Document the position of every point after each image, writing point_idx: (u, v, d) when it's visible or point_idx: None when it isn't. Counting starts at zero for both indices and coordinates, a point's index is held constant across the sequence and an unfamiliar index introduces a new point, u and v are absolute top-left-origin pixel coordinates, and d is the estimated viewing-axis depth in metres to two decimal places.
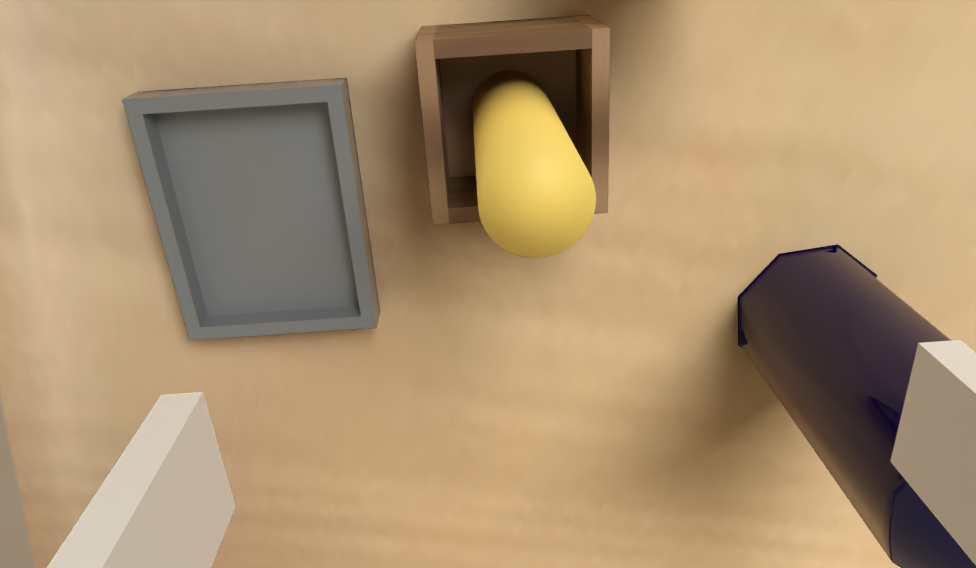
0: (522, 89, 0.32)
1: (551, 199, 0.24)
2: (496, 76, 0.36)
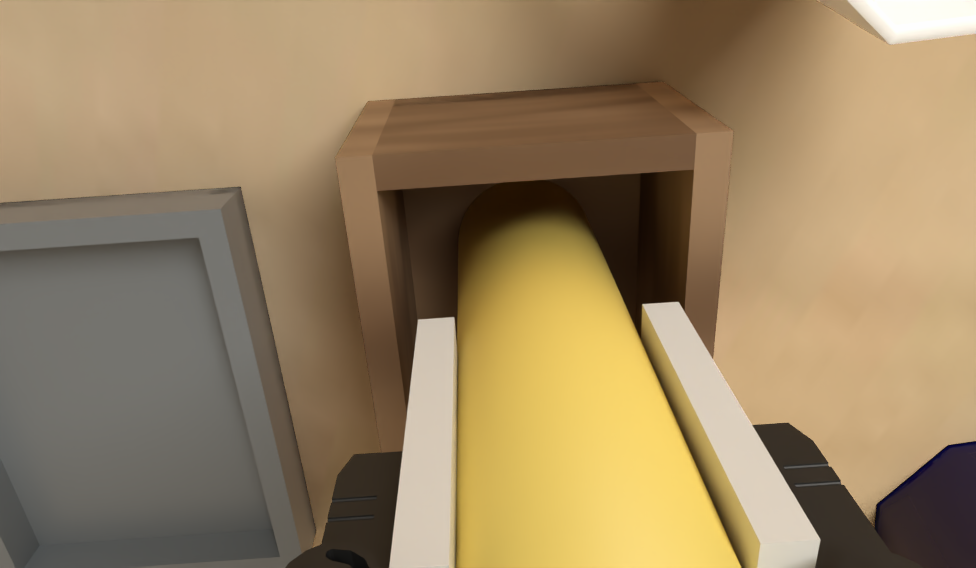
0: (553, 249, 0.16)
1: None
2: (500, 194, 0.20)
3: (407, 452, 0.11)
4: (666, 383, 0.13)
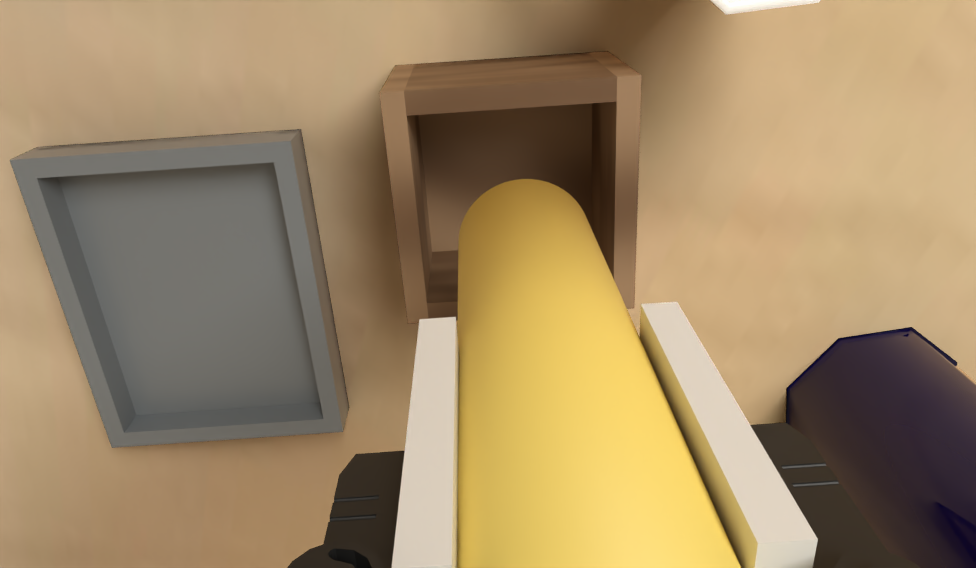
0: (553, 250, 0.16)
1: None
2: (500, 195, 0.20)
3: (409, 452, 0.11)
4: (664, 383, 0.13)
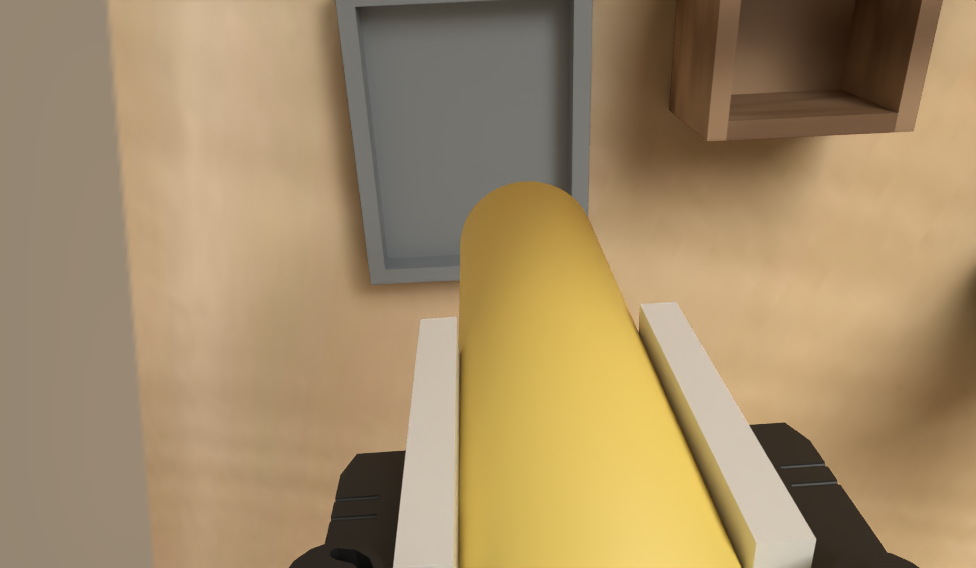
0: (556, 254, 0.16)
1: None
2: (503, 197, 0.20)
3: (410, 451, 0.11)
4: (663, 383, 0.13)
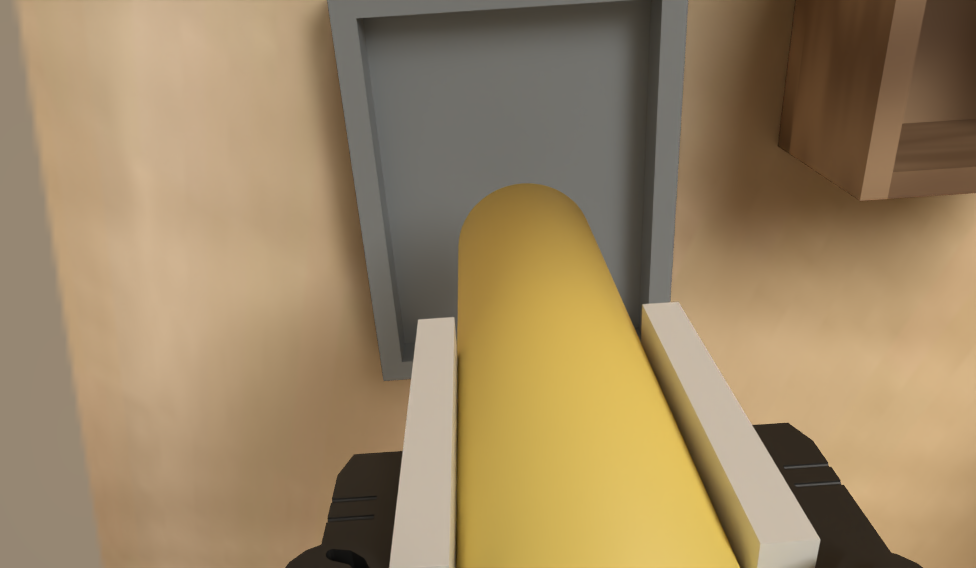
0: (555, 257, 0.16)
1: None
2: (501, 200, 0.20)
3: (407, 452, 0.11)
4: (666, 383, 0.13)
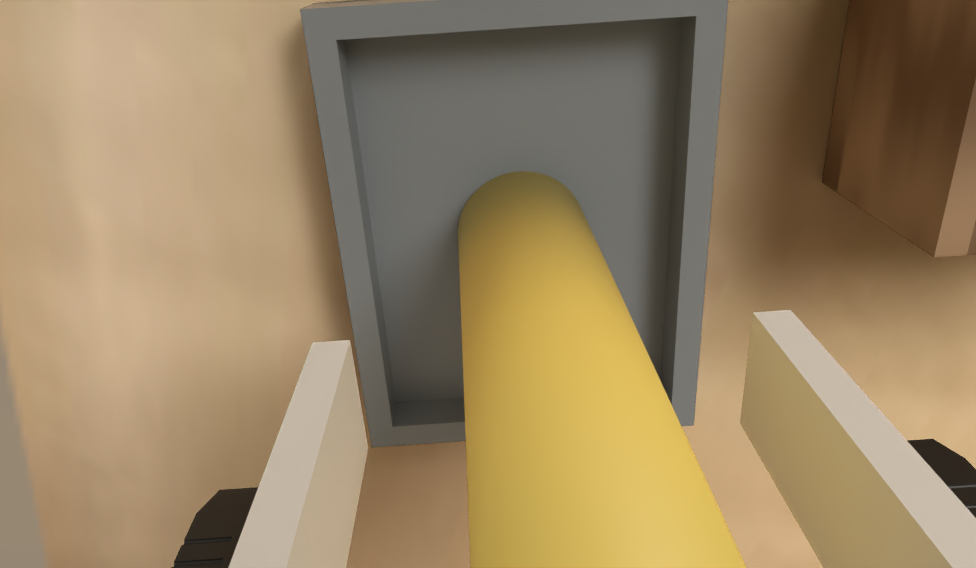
0: (552, 242, 0.17)
1: None
2: (499, 187, 0.21)
3: (261, 491, 0.10)
4: (792, 396, 0.13)
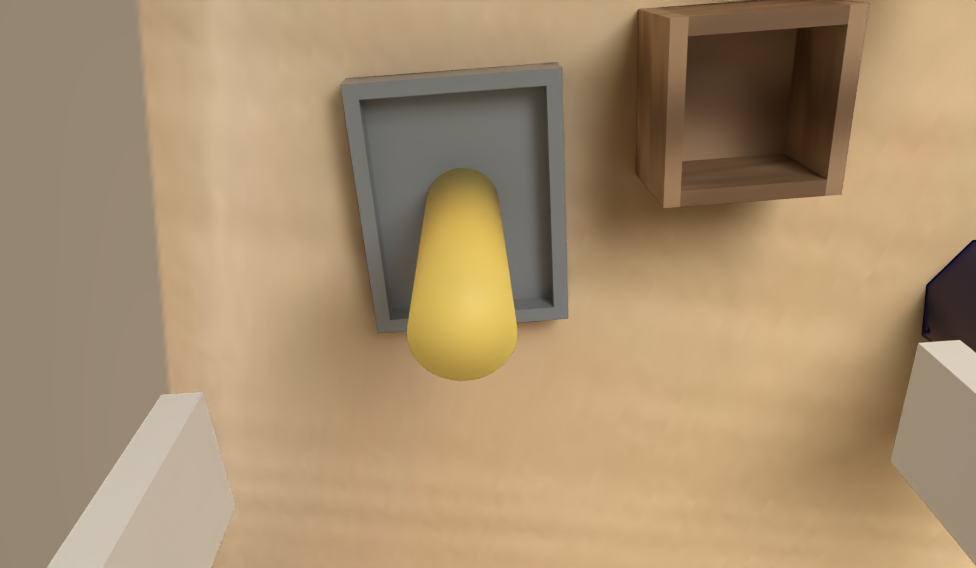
0: (465, 198, 0.34)
1: (475, 330, 0.26)
2: (447, 176, 0.38)
3: None
4: None
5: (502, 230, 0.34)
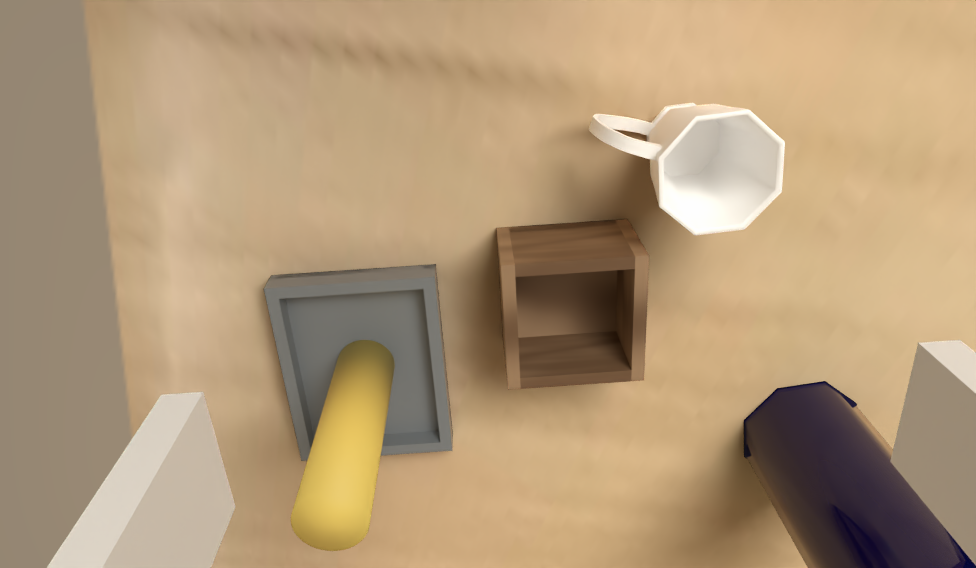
0: (356, 383, 0.45)
1: (339, 520, 0.37)
2: (350, 349, 0.48)
3: None
4: None
5: (384, 408, 0.44)
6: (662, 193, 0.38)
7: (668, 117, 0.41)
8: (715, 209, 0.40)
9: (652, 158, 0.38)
